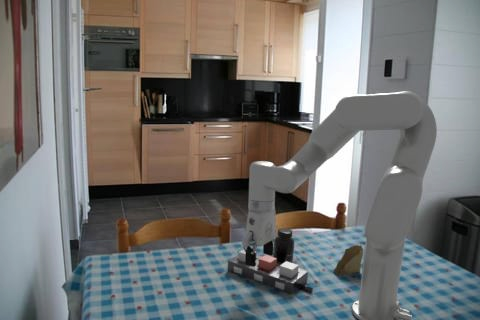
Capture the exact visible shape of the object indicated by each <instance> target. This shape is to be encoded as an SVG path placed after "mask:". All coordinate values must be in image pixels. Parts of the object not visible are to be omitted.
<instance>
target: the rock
mask: <svg viewBox="0 0 480 320" xmlns="http://www.w3.org/2000/svg"><path fill="white" fill-rule="evenodd" d="M363 257H364V249H363V247H362V245H358V244H357V245H353V246H350V247H348V248H346V249H345V250H344V253H343V255H342V257H341V259H340V260H339V261H338V262H337V264H336V267H335V268H334V269H333V271H332V272H333V274H335V276H342V275H346V274H355V273H358V272H359V273H360V272H361V268H362V267H361V264H362V263H361V262H362V259H363Z"/></svg>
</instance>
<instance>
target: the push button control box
mask: <svg viewBox="0 0 480 320" xmlns="http://www.w3.org/2000/svg"><path fill="white" fill-rule="evenodd" d="M262 256H263V255H260V254H258V253H257V254H256V266H255V267H252V266H249V265H246V264H245V262H243V261H240V260H238V257H239V254H238V255H237V254H236V256H233V257H232V258H230V259H228V261H227V272H229V273H232V274H235V275H238V276H241V277H243V278H244V279H245V278H246V279H248V280H250V281H251V280H252V282H253V281H254V282H257V283H259V284H262V285H264V286H266V287H270V288H272V289H275V290H278V291H281V292H283V293H286V294H289V295H293V294H294V293H296V292H297V291H298V290H299V289H301V290H305V291H307V292H310V293H312V292H313V291H314V288H313V287H310V286H308V285H306V283H308V276H309V274H308V273H309V271H308V270H304V269H303V268H300V267H298V274H297V275H296V276H295V277H294V278H289V277H286V276H283V275H280V274H279V271H280V265H281V264H283V263H281V262H278V261H277V265H276V267H275V268H274V269H272V270H271V271H269V270H266V269H263V268H260V267H258V262H259V258H261V257H262Z"/></svg>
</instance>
